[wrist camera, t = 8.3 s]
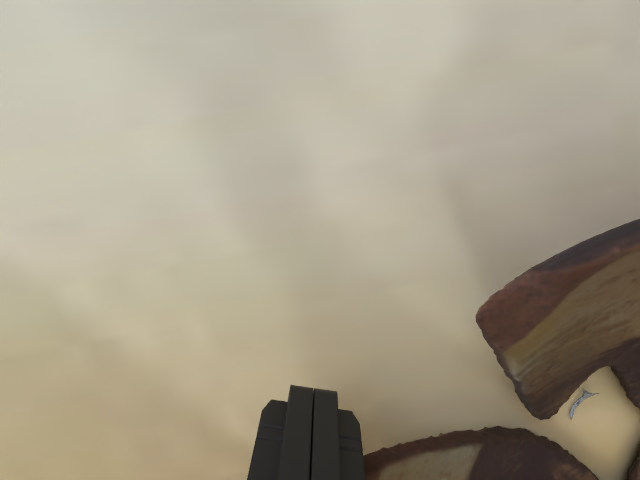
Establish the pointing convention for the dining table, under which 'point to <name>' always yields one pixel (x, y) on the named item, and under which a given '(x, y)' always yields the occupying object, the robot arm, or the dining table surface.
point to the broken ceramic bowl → (542, 363)
